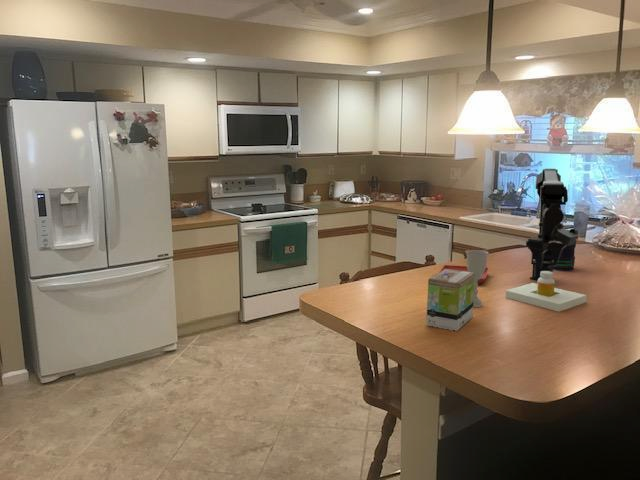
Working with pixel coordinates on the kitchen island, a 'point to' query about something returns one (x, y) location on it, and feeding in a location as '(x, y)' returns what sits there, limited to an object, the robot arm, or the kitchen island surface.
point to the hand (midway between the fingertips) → (547, 265)
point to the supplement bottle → (546, 284)
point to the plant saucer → (464, 268)
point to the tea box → (450, 299)
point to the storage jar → (566, 259)
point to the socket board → (556, 302)
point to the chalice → (476, 269)
